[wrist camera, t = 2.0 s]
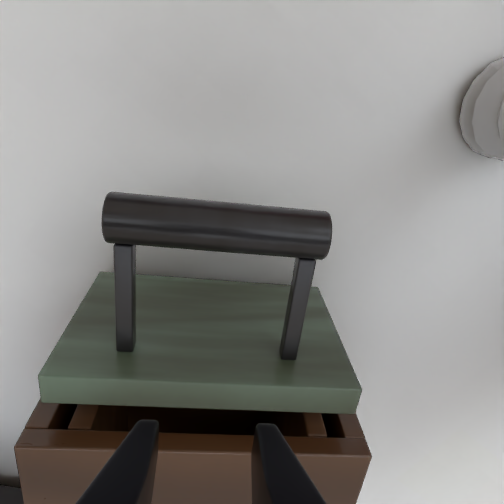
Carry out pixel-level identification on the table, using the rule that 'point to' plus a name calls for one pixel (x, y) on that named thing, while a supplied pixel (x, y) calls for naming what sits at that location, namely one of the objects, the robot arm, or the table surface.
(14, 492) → the leaning round-cornered charcoal block
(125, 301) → the drawer
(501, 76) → the rook chess piece
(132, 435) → the robot arm
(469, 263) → the table surface
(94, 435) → the cabinet
